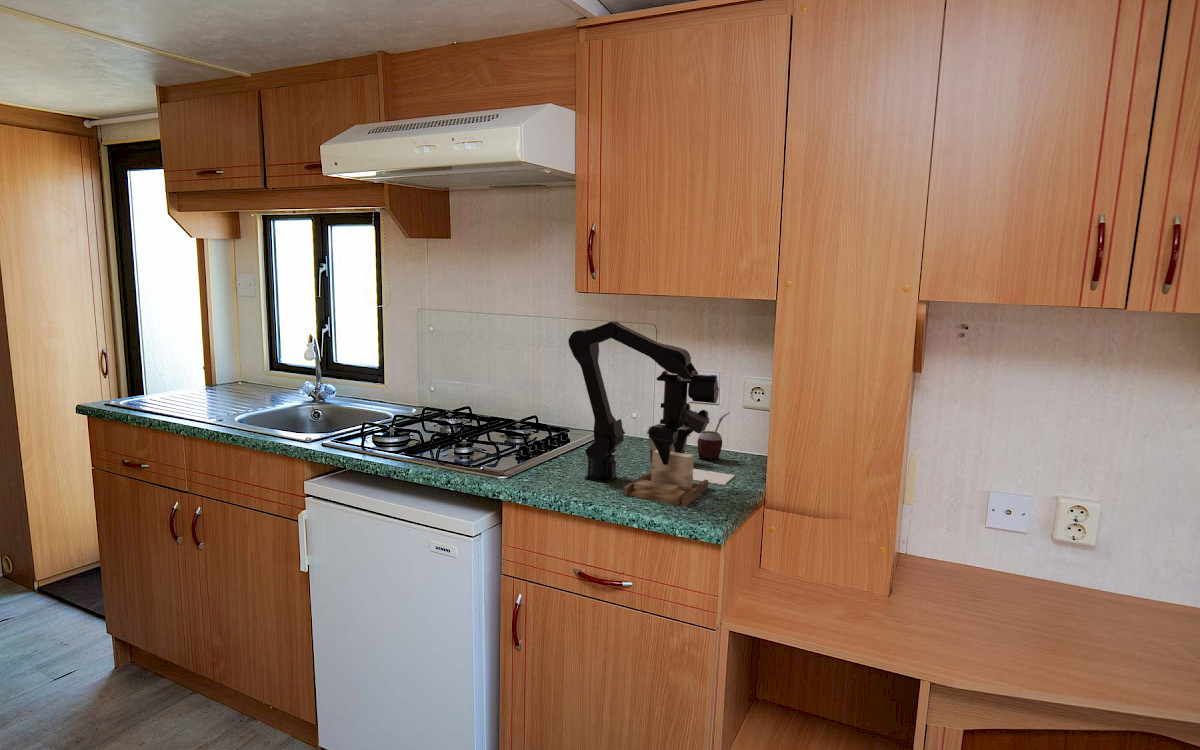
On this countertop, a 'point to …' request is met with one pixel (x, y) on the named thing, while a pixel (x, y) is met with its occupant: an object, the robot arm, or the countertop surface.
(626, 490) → the rack
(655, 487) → the offcut stack
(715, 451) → the mate gourd
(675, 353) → the robot arm
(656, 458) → the maple panel
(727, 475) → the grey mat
